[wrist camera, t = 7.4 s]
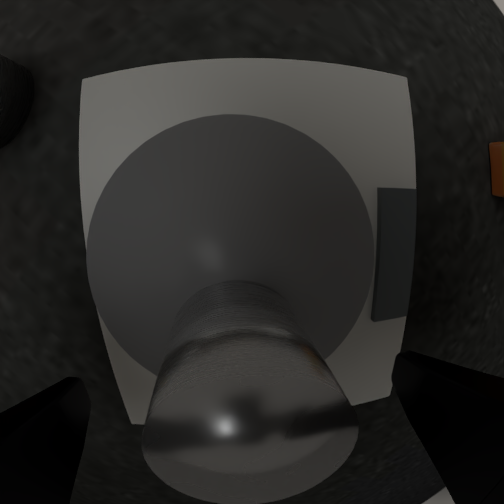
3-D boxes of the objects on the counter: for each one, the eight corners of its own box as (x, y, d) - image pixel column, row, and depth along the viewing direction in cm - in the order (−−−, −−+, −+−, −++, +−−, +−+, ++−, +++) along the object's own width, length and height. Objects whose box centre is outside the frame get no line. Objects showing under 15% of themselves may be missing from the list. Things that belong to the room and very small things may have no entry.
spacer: (301, 275, 9) (375, 355, 5) (298, 385, 10) (341, 488, 6) (162, 284, 9) (113, 378, 4) (181, 394, 10) (168, 505, 5)
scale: (372, 374, 14) (395, 402, 11) (140, 397, 13) (128, 432, 10) (382, 89, 11) (414, 73, 8) (101, 93, 10) (75, 74, 7)
